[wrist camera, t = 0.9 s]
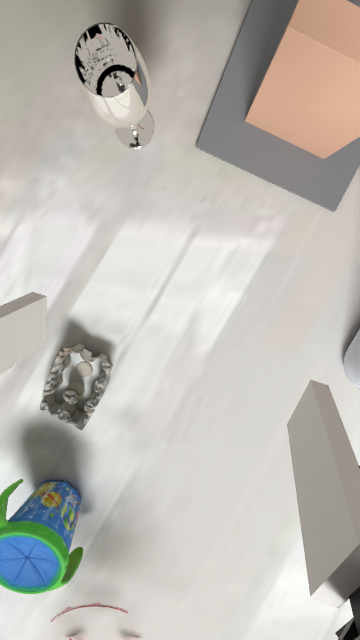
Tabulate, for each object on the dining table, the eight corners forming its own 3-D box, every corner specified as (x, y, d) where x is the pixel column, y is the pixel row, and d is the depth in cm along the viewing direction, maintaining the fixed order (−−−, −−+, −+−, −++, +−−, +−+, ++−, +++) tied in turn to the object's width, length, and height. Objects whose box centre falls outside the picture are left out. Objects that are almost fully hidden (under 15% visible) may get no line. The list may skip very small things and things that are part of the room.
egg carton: (72, 335, 39) (60, 345, 35) (121, 360, 40) (114, 372, 36) (43, 396, 42) (28, 411, 38) (90, 418, 42) (80, 436, 38)
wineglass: (135, 166, 34) (108, 124, 22) (99, 127, 33) (50, 61, 21) (170, 127, 32) (161, 61, 21) (133, 85, 31) (102, -9, 20)
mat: (332, 211, 34) (335, 210, 34) (195, 147, 33) (195, 145, 32) (438, 11, 29) (443, 6, 29) (282, -75, 28) (284, -82, 27)
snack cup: (4, 470, 45) (-47, 533, 35) (61, 447, 43) (25, 506, 34) (55, 541, 48) (22, 616, 38) (110, 521, 47) (89, 594, 37)
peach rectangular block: (324, 159, 32) (423, 95, 19) (244, 120, 32) (288, 25, 18) (337, 132, 32) (450, 46, 18) (256, 92, 31) (311, -29, 17)
